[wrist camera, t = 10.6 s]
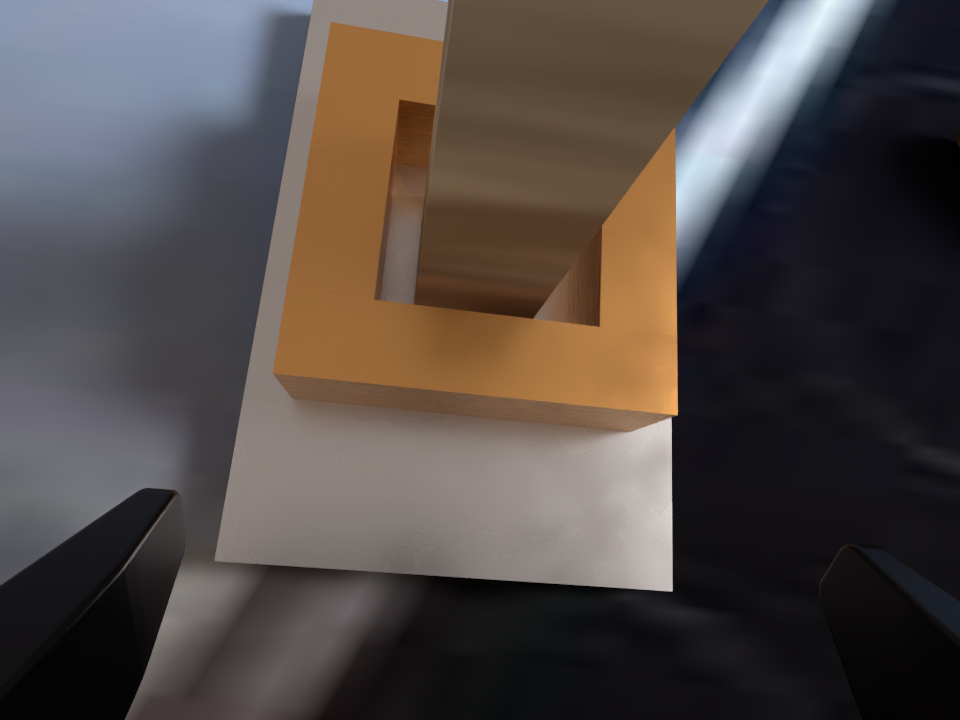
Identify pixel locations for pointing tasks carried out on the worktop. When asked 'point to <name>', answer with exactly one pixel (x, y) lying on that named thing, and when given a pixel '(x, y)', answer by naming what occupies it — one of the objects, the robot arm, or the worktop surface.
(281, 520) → the bracket plate
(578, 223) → the tan block
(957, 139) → the hand tool
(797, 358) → the worktop surface
